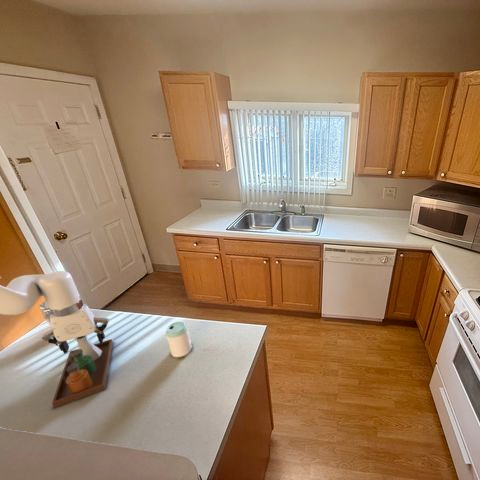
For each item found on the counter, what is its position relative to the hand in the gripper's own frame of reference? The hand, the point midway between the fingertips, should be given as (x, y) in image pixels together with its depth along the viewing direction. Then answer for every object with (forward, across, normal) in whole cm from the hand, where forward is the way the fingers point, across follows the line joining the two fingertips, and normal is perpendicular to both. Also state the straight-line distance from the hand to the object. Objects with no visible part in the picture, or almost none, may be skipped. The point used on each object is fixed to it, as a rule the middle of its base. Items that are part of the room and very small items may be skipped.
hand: (84, 345), depth 91 cm
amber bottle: (+6, 0, -14) cm, 15 cm away
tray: (+6, 0, -6) cm, 9 cm away
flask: (+6, 0, 0) cm, 6 cm away
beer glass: (+7, -11, +21) cm, 24 cm away
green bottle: (+6, 0, -7) cm, 9 cm away
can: (+6, +29, -12) cm, 32 cm away
